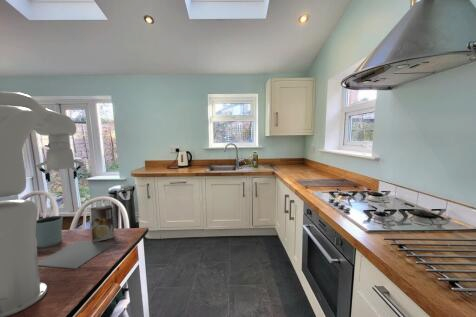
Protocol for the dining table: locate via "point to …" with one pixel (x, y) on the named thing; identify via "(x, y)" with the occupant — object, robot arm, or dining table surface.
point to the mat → (74, 255)
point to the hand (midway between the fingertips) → (62, 180)
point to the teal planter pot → (49, 231)
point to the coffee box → (102, 223)
